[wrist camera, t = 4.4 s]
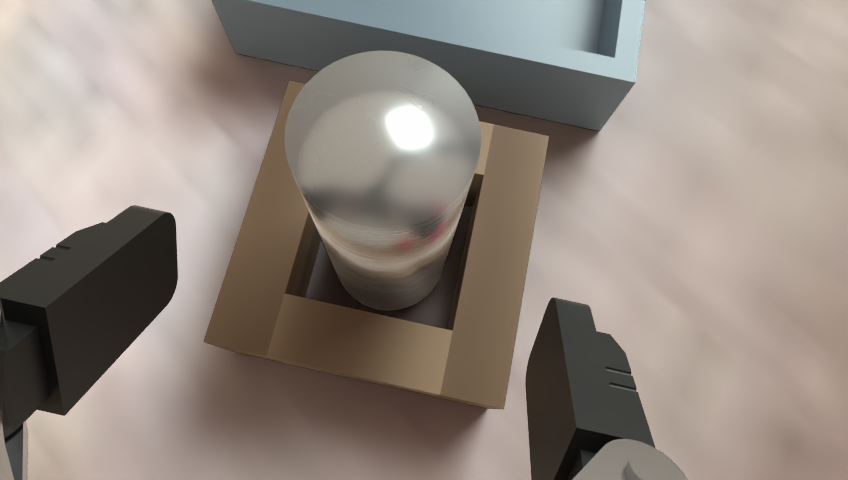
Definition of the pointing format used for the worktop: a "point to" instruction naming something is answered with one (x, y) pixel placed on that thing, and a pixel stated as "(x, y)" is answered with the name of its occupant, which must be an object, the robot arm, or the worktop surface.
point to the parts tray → (465, 45)
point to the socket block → (373, 333)
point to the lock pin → (384, 170)
